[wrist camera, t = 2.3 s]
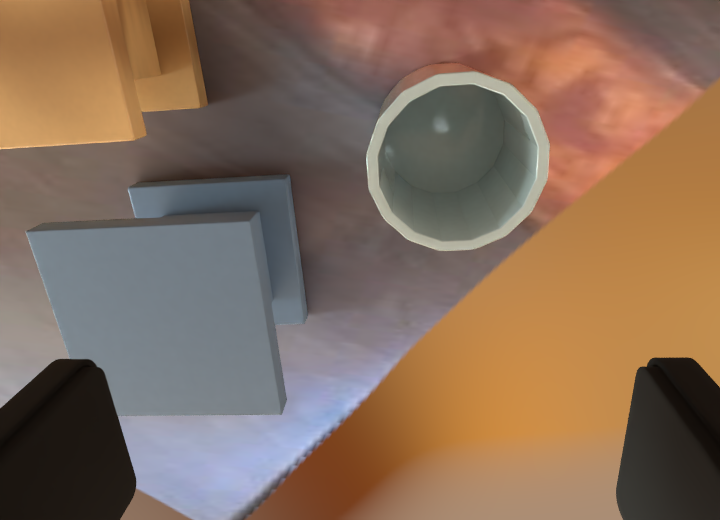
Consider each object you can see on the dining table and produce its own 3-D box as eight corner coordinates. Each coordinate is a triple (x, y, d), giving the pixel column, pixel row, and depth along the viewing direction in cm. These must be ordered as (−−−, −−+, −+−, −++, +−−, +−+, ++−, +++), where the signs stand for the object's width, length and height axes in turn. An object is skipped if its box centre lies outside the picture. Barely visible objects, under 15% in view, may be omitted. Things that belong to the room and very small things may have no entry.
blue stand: (130, 177, 26) (25, 231, 19) (294, 168, 25) (249, 220, 18) (167, 323, 30) (89, 417, 22) (313, 319, 29) (282, 415, 21)
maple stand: (-13, -81, 22) (-219, -139, 15) (176, -102, 21) (57, -175, 14) (48, 122, 25) (-96, 155, 18) (214, 110, 25) (134, 140, 17)
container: (372, 68, 23) (360, 79, 17) (512, 57, 23) (555, 64, 16) (380, 200, 26) (373, 254, 19) (507, 194, 25) (543, 247, 19)
